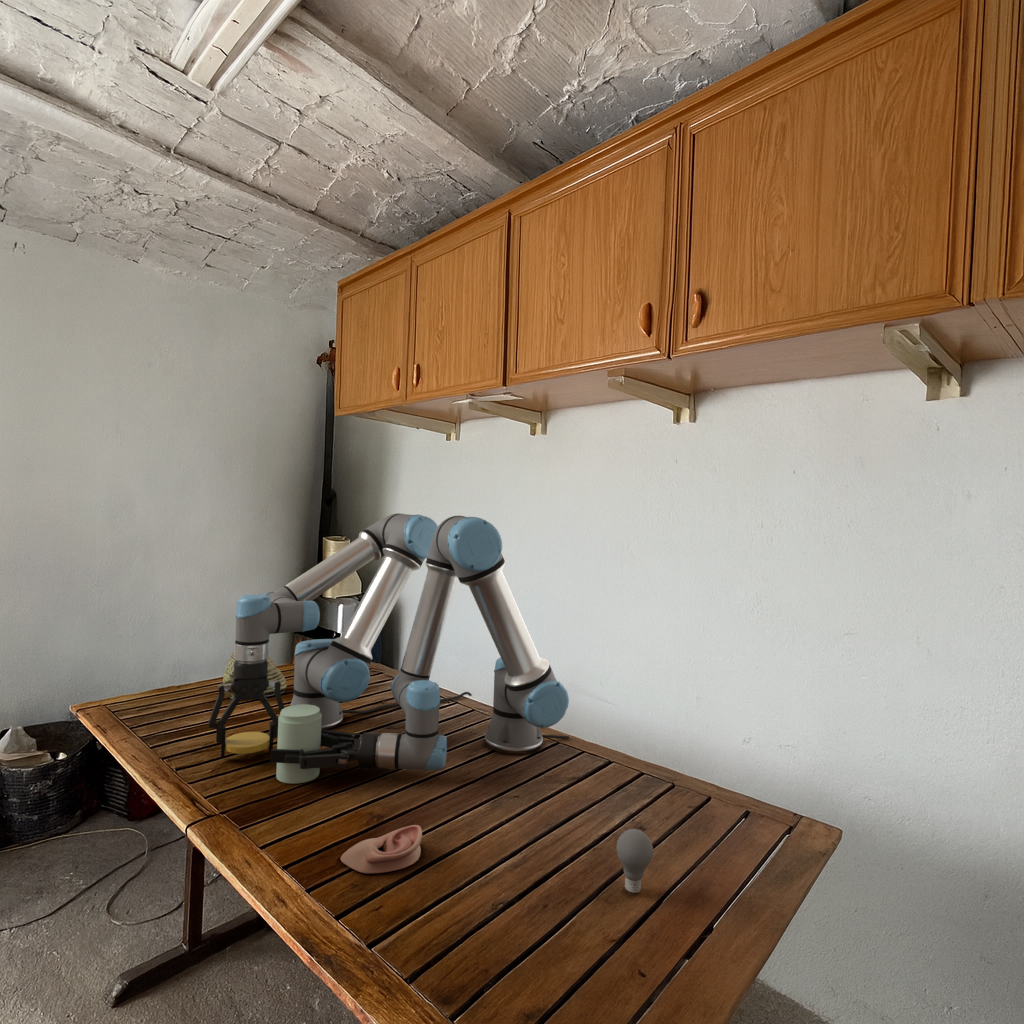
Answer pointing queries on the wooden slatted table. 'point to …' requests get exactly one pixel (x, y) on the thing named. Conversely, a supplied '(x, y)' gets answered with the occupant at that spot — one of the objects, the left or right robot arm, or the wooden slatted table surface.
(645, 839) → the light bulb
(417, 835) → the anatomical model
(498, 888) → the wooden slatted table surface
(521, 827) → the wooden slatted table surface
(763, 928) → the wooden slatted table surface
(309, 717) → the jar
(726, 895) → the wooden slatted table surface
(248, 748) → the lid
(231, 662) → the fossil
